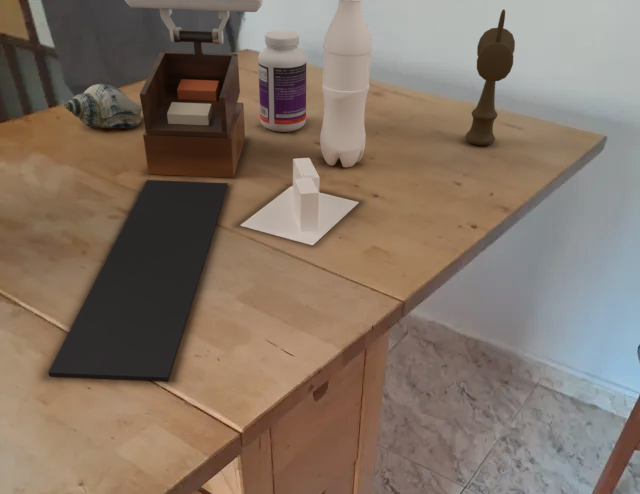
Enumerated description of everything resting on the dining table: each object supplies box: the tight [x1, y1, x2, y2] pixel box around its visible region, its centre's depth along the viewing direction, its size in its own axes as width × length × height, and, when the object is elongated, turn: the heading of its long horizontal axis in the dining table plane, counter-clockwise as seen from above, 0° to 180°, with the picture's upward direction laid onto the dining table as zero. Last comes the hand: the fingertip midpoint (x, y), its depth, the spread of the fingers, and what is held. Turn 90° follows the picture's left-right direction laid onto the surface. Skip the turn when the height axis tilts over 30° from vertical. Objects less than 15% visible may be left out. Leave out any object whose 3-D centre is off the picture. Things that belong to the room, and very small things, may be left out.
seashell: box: [63, 83, 142, 130], centre depth 117 cm, size 6×8×12 cm
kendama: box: [465, 8, 516, 146], centre depth 111 cm, size 6×10×20 cm, turn 168°
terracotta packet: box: [177, 79, 220, 101], centre depth 108 cm, size 4×6×2 cm, turn 88°
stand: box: [142, 101, 246, 178], centre depth 108 cm, size 16×13×6 cm
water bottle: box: [319, 0, 373, 168], centre depth 102 cm, size 7×7×25 cm
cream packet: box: [167, 102, 213, 125], centre depth 102 cm, size 4×6×2 cm, turn 88°
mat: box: [47, 179, 229, 382], centre depth 85 cm, size 46×12×1 cm, turn 178°
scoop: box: [139, 29, 241, 138], centre depth 102 cm, size 16×12×9 cm
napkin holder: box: [239, 157, 360, 246], centre depth 94 cm, size 15×11×6 cm
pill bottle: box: [257, 29, 307, 133], centre depth 116 cm, size 8×8×14 cm
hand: (197, 42), depth 105 cm, fingers closed on scoop, 5 cm apart
